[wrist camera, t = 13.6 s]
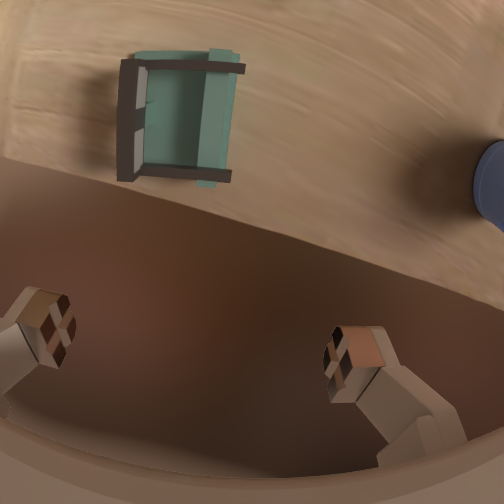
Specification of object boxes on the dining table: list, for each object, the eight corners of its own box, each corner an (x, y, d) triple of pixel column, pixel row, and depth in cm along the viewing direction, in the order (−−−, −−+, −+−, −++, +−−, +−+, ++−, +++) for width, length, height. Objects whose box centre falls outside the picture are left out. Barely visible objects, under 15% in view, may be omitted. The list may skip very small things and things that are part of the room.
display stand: (138, 52, 31) (124, 49, 27) (239, 55, 32) (238, 50, 28) (131, 169, 40) (118, 180, 35) (224, 176, 41) (221, 189, 36)
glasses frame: (133, 61, 28) (120, 59, 24) (245, 64, 29) (245, 62, 25) (128, 170, 35) (116, 181, 31) (230, 179, 36) (228, 190, 32)
